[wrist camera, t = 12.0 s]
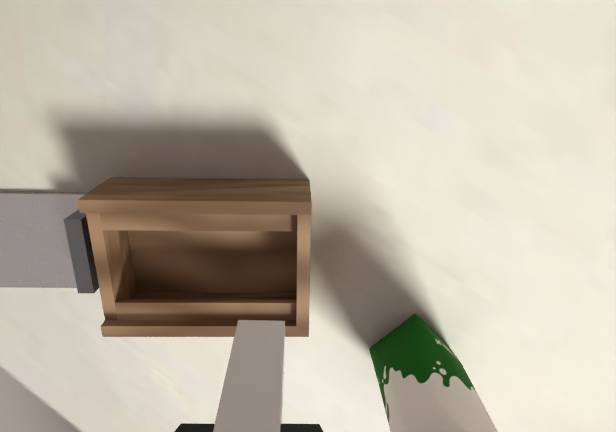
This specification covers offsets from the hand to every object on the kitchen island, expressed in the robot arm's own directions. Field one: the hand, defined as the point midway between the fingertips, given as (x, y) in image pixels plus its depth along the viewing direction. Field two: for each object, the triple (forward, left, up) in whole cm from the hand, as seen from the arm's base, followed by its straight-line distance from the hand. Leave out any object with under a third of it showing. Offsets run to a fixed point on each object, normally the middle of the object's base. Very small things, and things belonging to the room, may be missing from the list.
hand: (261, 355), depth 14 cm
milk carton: (+24, +15, -30) cm, 41 cm away
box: (+10, -8, -30) cm, 32 cm away
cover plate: (+10, -26, -31) cm, 41 cm away
